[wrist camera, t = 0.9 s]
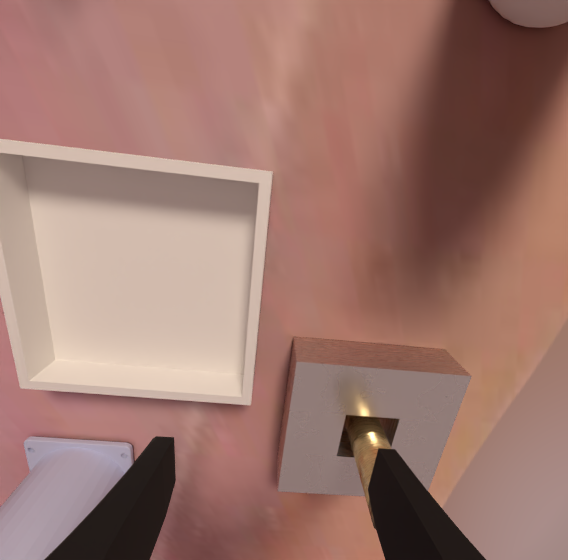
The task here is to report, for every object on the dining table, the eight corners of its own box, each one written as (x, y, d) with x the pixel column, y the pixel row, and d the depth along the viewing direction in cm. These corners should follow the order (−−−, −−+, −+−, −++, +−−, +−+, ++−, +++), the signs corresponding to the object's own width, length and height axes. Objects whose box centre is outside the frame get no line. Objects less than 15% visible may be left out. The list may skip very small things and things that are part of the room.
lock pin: (367, 418, 23) (413, 536, 15) (337, 416, 23) (368, 534, 15) (374, 393, 22) (425, 504, 14) (343, 391, 22) (378, 502, 14)
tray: (254, 375, 21) (250, 405, 18) (56, 359, 20) (20, 388, 18) (273, 173, 17) (272, 171, 14) (20, 143, 16) (-35, 134, 13)
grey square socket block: (407, 462, 24) (424, 499, 22) (277, 454, 24) (277, 491, 21) (445, 349, 21) (471, 376, 18) (293, 336, 20) (296, 361, 17)
